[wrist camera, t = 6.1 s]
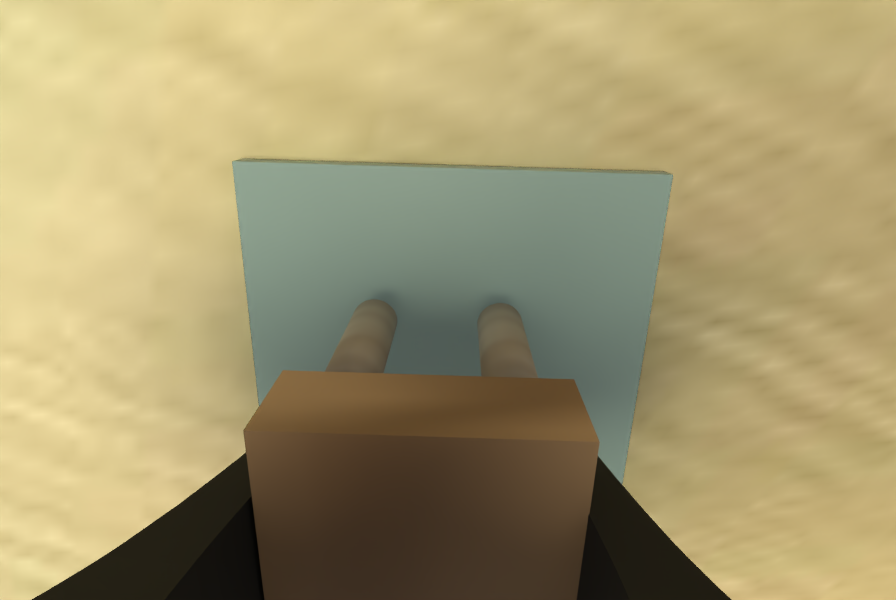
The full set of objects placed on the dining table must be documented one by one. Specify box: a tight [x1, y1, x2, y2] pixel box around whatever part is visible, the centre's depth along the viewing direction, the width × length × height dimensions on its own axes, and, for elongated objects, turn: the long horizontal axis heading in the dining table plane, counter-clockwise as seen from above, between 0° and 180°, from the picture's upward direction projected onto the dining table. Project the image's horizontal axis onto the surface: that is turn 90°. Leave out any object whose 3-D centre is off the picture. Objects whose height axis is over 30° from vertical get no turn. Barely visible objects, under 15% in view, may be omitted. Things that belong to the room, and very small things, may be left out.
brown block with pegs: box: [244, 299, 600, 600], centre depth 10 cm, size 4×4×6 cm
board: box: [232, 159, 673, 484], centre depth 14 cm, size 10×10×1 cm
